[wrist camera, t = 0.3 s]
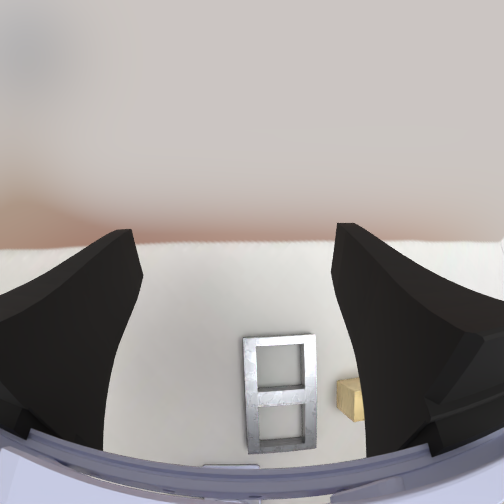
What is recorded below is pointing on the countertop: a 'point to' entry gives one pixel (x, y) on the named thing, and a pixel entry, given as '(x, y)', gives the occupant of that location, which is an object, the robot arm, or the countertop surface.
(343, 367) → the countertop surface
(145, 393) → the countertop surface
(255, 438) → the steel window frame
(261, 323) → the countertop surface
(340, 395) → the light brown wooden block
